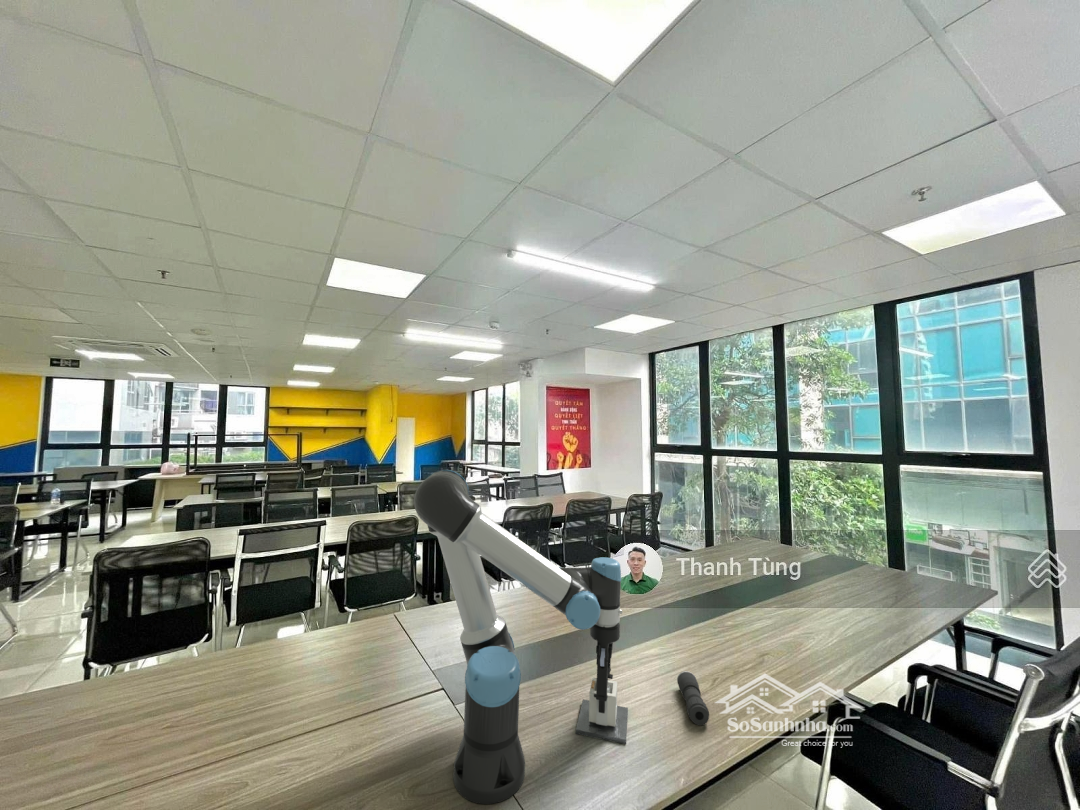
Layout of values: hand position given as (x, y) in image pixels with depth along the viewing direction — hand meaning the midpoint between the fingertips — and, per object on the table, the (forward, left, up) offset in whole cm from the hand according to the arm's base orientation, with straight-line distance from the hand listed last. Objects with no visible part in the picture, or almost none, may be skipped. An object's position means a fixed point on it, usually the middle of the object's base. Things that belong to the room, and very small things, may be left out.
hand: (603, 714), depth 106 cm
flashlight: (+14, -23, -2) cm, 27 cm away
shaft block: (0, 0, -2) cm, 2 cm away
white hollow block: (0, 0, 0) cm, 0 cm away
